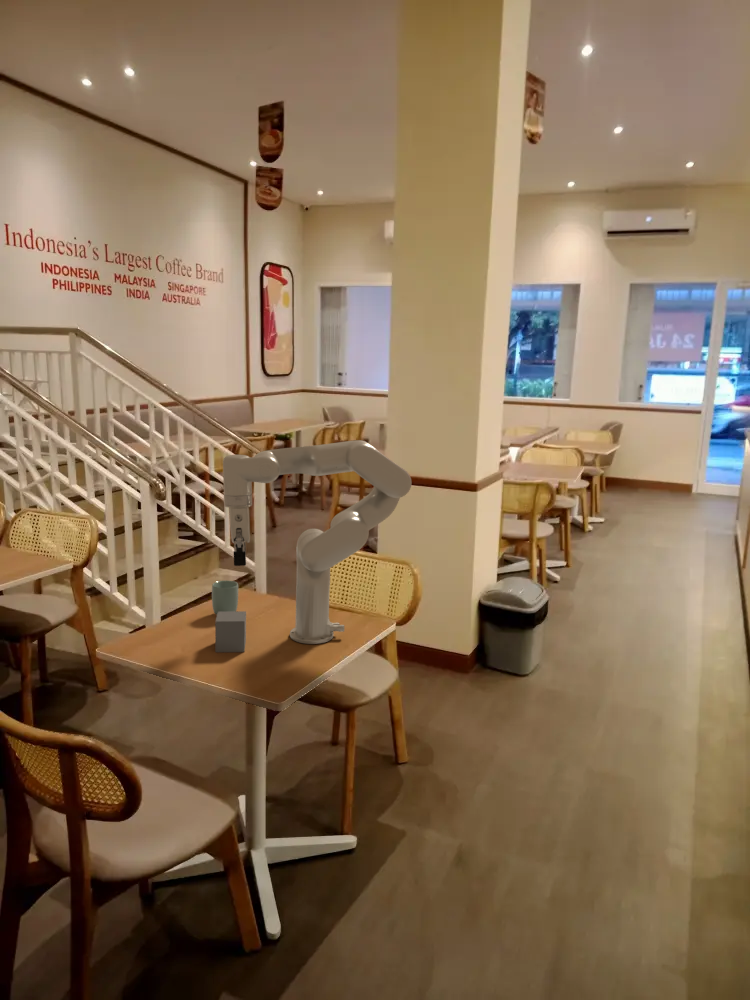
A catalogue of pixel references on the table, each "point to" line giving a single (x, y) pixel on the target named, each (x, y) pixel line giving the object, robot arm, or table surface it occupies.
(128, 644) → the table surface
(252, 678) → the table surface
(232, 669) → the table surface
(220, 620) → the matte gray cube
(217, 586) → the cup
